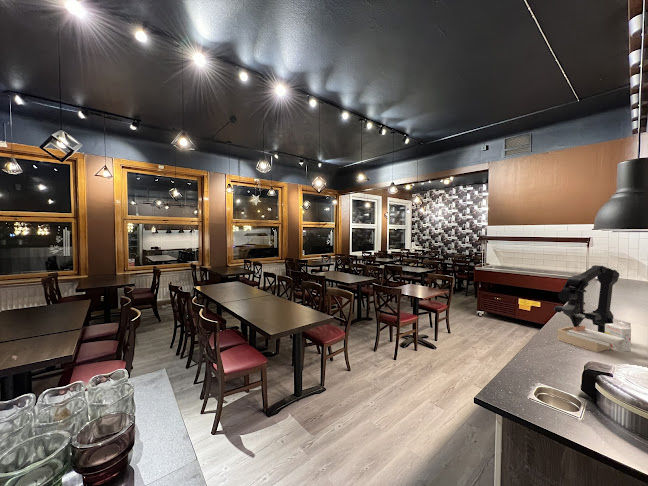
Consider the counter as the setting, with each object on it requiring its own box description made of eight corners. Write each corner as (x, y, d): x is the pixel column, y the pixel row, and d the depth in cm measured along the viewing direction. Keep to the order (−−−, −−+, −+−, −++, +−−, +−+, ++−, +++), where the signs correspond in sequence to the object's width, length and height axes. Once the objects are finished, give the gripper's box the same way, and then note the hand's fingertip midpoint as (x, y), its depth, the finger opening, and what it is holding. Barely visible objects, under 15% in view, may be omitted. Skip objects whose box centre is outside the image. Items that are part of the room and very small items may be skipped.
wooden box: (570, 336, 155) (571, 326, 155) (610, 348, 139) (611, 337, 139) (557, 339, 151) (557, 329, 151) (596, 352, 135) (597, 340, 135)
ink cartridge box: (603, 344, 144) (604, 317, 143) (612, 344, 144) (612, 317, 144) (622, 351, 135) (622, 323, 135) (631, 351, 136) (632, 322, 135)
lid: (582, 331, 151) (582, 324, 151) (624, 342, 135) (624, 334, 134) (567, 334, 146) (567, 327, 146) (609, 346, 130) (609, 338, 130)
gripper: (548, 297, 154) (547, 324, 154) (588, 305, 136) (588, 335, 136) (560, 296, 157) (559, 322, 158) (602, 303, 140) (601, 333, 140)
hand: (575, 327), depth 148 cm, fingers closed
